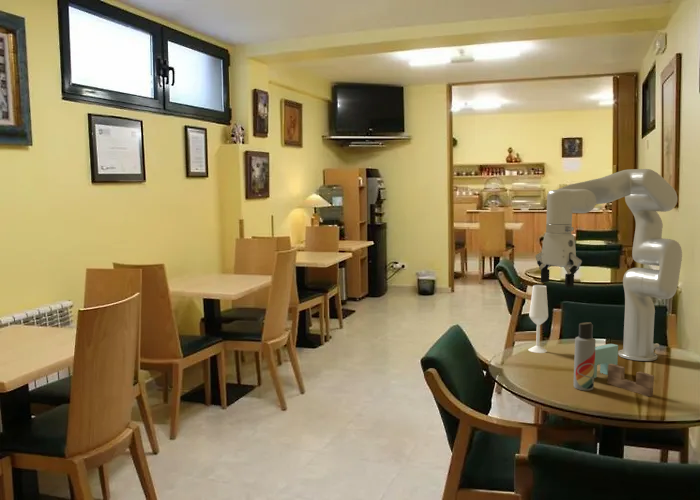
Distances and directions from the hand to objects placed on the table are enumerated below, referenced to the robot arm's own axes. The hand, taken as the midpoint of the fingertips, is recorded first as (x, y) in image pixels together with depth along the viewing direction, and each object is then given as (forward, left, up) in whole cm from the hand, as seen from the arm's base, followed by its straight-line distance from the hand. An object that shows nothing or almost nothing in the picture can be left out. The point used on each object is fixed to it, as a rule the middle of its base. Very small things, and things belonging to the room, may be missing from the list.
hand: (556, 284), depth 194 cm
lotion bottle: (+1, +12, -30) cm, 32 cm away
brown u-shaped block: (-9, +20, -30) cm, 37 cm away
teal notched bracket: (-13, +6, -30) cm, 33 cm away
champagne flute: (-19, -25, -30) cm, 43 cm away
